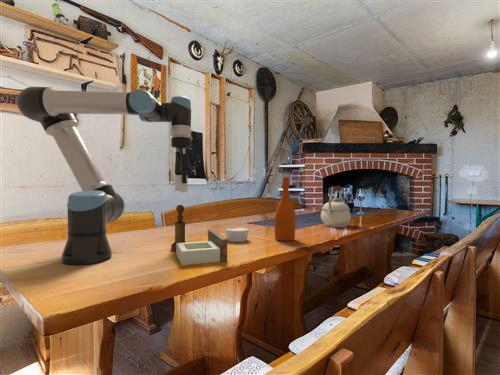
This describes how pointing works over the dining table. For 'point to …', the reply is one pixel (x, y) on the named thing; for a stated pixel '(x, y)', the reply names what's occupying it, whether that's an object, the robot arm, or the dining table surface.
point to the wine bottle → (285, 216)
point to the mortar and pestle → (179, 228)
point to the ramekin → (237, 234)
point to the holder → (197, 252)
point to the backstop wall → (219, 243)
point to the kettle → (335, 211)
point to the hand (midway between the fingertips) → (181, 191)
